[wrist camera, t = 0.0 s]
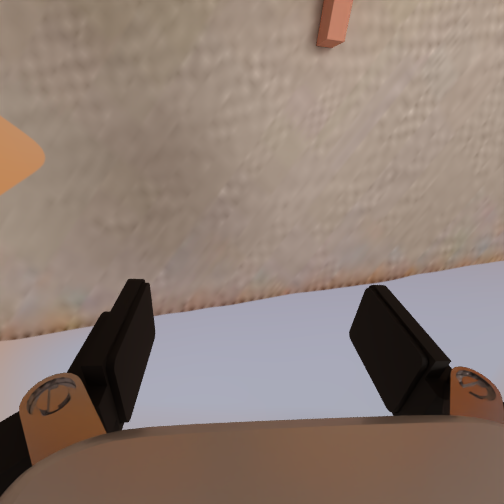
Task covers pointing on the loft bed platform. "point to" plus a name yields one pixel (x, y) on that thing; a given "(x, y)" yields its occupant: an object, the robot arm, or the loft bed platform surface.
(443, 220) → the loft bed platform surface
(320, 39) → the orange square loop
